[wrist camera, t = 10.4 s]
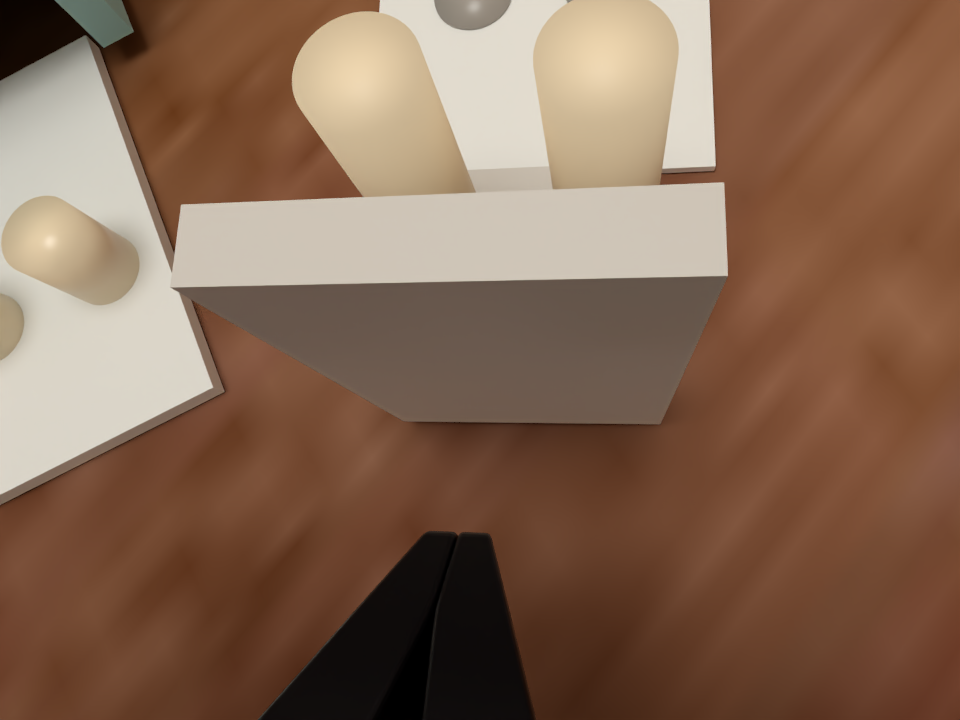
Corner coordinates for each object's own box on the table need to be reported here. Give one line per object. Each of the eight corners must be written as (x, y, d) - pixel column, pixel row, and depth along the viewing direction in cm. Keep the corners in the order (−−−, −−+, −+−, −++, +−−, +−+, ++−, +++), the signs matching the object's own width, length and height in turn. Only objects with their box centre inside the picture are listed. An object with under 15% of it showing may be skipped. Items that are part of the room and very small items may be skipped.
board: (224, 391, 20) (156, 365, 17) (-7, 508, 20) (-115, 502, 17) (98, 47, 23) (22, -26, 20) (-98, 152, 23) (-201, 95, 20)
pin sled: (659, 424, 17) (727, 275, 7) (403, 421, 18) (169, 287, 8) (656, 180, 18) (707, -212, 9) (417, 190, 19) (229, -151, 10)
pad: (714, 171, 19) (716, 164, 18) (369, 185, 20) (365, 180, 20) (702, -126, 21) (704, -137, 20) (390, -93, 22) (386, -102, 22)
